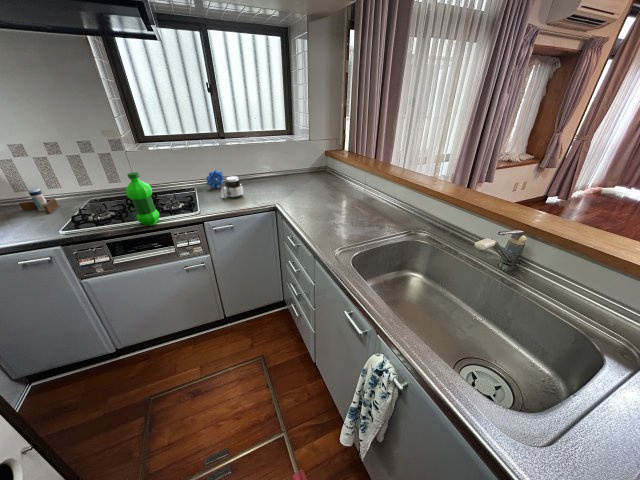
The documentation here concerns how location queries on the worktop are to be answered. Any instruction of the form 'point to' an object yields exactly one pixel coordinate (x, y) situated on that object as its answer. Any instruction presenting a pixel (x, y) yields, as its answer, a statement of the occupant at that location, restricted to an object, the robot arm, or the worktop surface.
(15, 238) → the worktop surface
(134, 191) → the plastic bottle
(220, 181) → the blue knobbly toy
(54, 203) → the corner rack
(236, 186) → the spread jar
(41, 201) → the white pill bottle
